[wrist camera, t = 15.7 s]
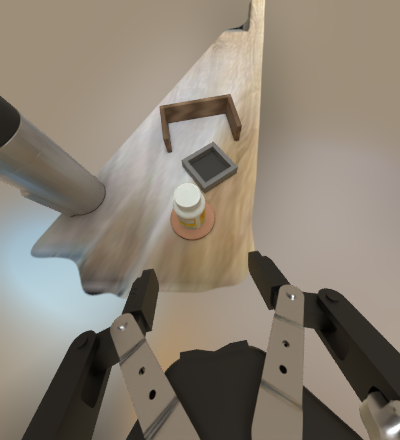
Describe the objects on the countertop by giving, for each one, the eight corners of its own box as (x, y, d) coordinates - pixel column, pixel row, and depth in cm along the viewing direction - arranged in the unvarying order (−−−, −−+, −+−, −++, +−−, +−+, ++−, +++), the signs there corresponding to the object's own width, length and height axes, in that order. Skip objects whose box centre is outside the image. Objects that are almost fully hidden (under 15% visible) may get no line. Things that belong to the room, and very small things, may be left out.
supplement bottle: (187, 235, 30) (178, 218, 21) (174, 213, 32) (162, 189, 23) (210, 221, 31) (212, 200, 22) (197, 201, 33) (193, 173, 24)
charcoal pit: (204, 193, 35) (204, 188, 33) (182, 166, 37) (181, 160, 35) (236, 172, 36) (237, 166, 34) (213, 148, 39) (213, 141, 37)
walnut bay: (167, 152, 39) (163, 139, 35) (163, 121, 42) (159, 106, 39) (238, 140, 39) (241, 125, 35) (228, 109, 43) (230, 94, 39)
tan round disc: (186, 248, 31) (185, 247, 30) (163, 214, 33) (162, 212, 32) (223, 223, 32) (223, 221, 31) (198, 192, 35) (198, 189, 34)
